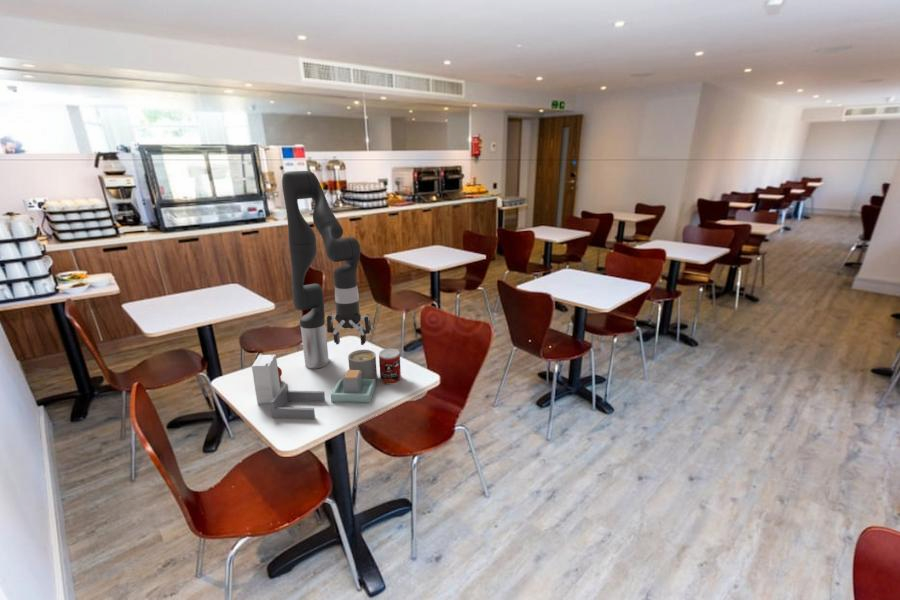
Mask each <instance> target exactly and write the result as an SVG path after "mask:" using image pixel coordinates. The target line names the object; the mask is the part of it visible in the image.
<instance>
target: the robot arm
mask: <svg viewBox="0 0 900 600" xmlns="http://www.w3.org/2000/svg"><path fill="white" fill-rule="evenodd" d="M281 179H282V180H281V187H282V192H283V198H284V204H285V210H286V216H287V217H286V218H287V231H288V245H289V255H290V264H291V265H290V266H291V280H292V282H291V289H292V290H291V293H292V294H291V295H292V302H293V303H292V304H293V306H294V308H295V309H296V310H297V311H305V310H310V309H311V310H310V311H308V312H307V313H306V314H304V315H303V316H301V317H300V318H299V323H300V324H299V327H300V332H301V333H300V334H301V343H302V349H303V356H304V365H305V367H306V368H307V369H308V368H309V369H320V368H324V367H326V366H327V365H328V364H329V363H330V358H329V349H328V339H327V333H329V334H330V333H331V334H333V342H334V343H335V345H339V344H340V343H341V340H340V338H341V337H340V332H339V331H340V330H341V328H343V329H350V330H351V329H354V330H355V331H357V332H358V333H359V334H360V345H361V346H364V344H366V342H367V334H368V335H369V334H370V333H371V331H372V326H371V317H370V314H366V315H361V313H360V299H359V289H358V282H357V281H358V280H357V279H358V278H357V273H358V272H357V271H358V265H359V261H360V258H361V245H360V243H359V241H358V239H356V238H355V237H352V236H348V237H342V236H343V235H344V229H343V227H342V225H341V224H340V222H339V221H338V219H337V218H336V215H334V213H333V211H332V208H331V207H330V205H329V203H328V199H327V198H326V195H325V192H324V190H323V188H322V185H321V183H320V180H319V179H318V177H317V176H316V174H315V173H314V172H313V171H311V170H292V171H291V170H290V171H285V172H284V173H283V174H282V177H281ZM306 199H312V200H313V201H314V208H313V213H312V219H313V220H312V221H313V224H314V227H315V228H316V229H317V232H318V233H319V235H320V236H321V238H322V241H323V244H324V245H323V246H324V250H325V254H326V256H327V259H329V260H330V261H332V262H334V263H339V262H344V263H343V265H341V266H339V267H337V268H336V269H334V272H333V282H334V301H335V314H332V313H329V314H328V315H327V317H326V314H325V296H324V290H323V287H322V286H321V284H320V283H310V284H304V283H305V278H306V274H307V272H308V270H309V269H310V267H311V266H312V264H313V262H314V260H315V258H316V257H317V238H316V234H315V232H314V229H313V228H311V227H312V226H310V224H309V223H308V222H307V221H306V220H305V218H304V217H303V215H302V213H301V211H300V208H299V202H298V201H299V200H306ZM335 320H336V322H337V324H338V325H337V326H336V327H335V328H334V321H335ZM360 321H362V323H364V326H363V324H362V323H361V322H360Z"/></svg>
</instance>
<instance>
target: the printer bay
mask: <svg viewBox="0 0 900 600" xmlns="http://www.w3.org/2000/svg"><path fill="white" fill-rule="evenodd" d="M325 401H326V395H325V391H323V390H322V391H321V390H290V389H289V386H288V383H285V384H283V386H282V387H280V390H279V392H278V393H277V394H276V395H275V397H274V398H273V399H272V400H271V402H270V403H269V404H270V409H271V415H272V416H271V417H272V419H293V420H294V419H297V420H298V419H299V420H314V419H316V413H315V407H293V406H289V407H288V406H286V405H287V404H288V402H310V403H311V402H315V403H316V402H317V403H318V402H319V403H321V402H322V403H323V402H324V403H325Z"/></svg>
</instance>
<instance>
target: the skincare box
mask: <svg viewBox="0 0 900 600" xmlns="http://www.w3.org/2000/svg"><path fill="white" fill-rule="evenodd" d="M278 367H279V366H278V362H277V354H259V355H258V356H257V358H256V359H255V360H254V362H253V364H252V365H251V370H252V375H253V377H252V378H253V383H254V390H255V397H256V402H257V404H259V405H260V404H270V402H271V400H272V399H273V398H274V397H275V395H276V394H277V393H278V392H279V390H280V389H281V381H280V382H279V374H278Z"/></svg>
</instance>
